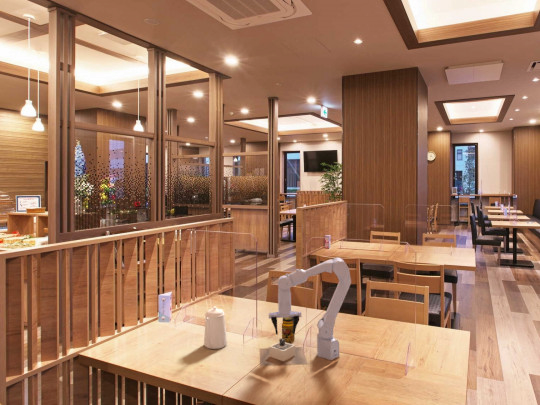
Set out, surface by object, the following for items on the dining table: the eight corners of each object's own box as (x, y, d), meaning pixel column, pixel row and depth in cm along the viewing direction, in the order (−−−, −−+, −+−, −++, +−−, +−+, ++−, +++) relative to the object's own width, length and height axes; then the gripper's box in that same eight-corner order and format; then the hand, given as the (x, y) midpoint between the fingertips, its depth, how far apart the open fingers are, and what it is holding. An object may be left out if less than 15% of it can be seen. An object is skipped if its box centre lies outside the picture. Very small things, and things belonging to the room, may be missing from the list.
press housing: (281, 350, 188) (281, 341, 188) (295, 355, 183) (295, 345, 183) (269, 356, 182) (269, 346, 182) (283, 361, 177) (283, 351, 177)
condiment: (283, 345, 196) (283, 320, 196) (278, 339, 204) (277, 315, 204) (298, 343, 198) (297, 319, 198) (292, 337, 207) (291, 313, 206)
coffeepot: (194, 355, 186) (193, 314, 185) (213, 335, 211) (212, 299, 210) (217, 357, 184) (216, 315, 183) (233, 336, 208) (232, 300, 208)
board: (302, 348, 192) (302, 347, 192) (307, 365, 174) (307, 364, 174) (259, 350, 191) (259, 348, 191) (260, 367, 173) (260, 365, 173)
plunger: (281, 350, 187) (281, 336, 186) (291, 354, 183) (291, 339, 182) (273, 354, 182) (272, 339, 182) (283, 358, 178) (282, 343, 178)
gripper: (268, 306, 179) (269, 337, 179) (302, 305, 179) (302, 335, 180) (268, 301, 186) (268, 331, 186) (300, 300, 187) (300, 330, 187)
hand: (285, 333), depth 184 cm, fingers open, 7 cm apart
